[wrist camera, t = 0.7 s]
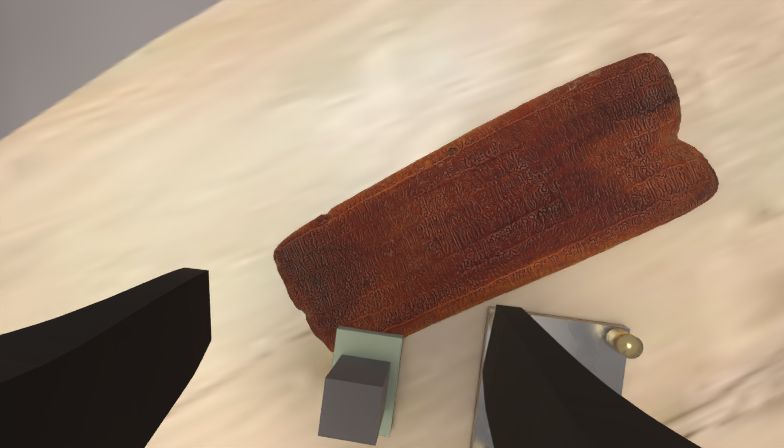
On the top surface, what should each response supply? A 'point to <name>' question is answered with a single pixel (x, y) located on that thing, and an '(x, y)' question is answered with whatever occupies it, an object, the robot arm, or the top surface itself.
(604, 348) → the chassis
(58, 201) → the top surface
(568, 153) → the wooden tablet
